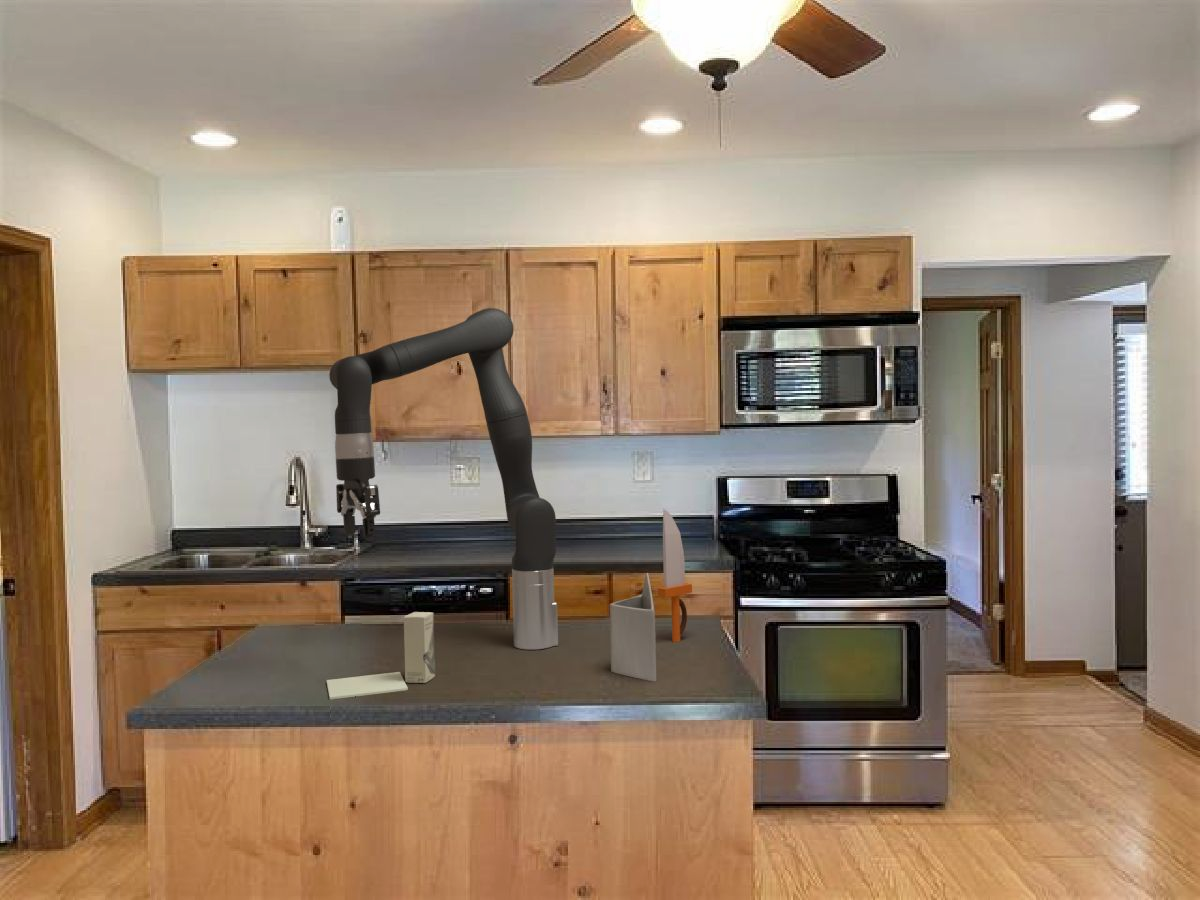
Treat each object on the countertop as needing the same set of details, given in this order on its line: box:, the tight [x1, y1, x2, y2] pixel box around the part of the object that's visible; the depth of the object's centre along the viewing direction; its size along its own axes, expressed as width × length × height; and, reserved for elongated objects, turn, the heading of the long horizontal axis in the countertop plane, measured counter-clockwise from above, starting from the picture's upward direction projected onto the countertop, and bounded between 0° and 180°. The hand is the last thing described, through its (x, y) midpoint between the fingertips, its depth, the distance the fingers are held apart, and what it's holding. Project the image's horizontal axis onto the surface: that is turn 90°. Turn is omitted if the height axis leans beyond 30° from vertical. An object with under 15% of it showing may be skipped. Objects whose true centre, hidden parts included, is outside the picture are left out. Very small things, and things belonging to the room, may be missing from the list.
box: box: [403, 611, 436, 684], centre depth 174 cm, size 5×4×13 cm
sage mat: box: [326, 671, 409, 701], centre depth 170 cm, size 14×12×1 cm
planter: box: [609, 572, 657, 683], centre depth 176 cm, size 16×8×19 cm, turn 4°
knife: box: [657, 508, 693, 643], centre depth 199 cm, size 8×2×30 cm, turn 129°
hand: (359, 535), depth 181 cm, fingers open, 8 cm apart
